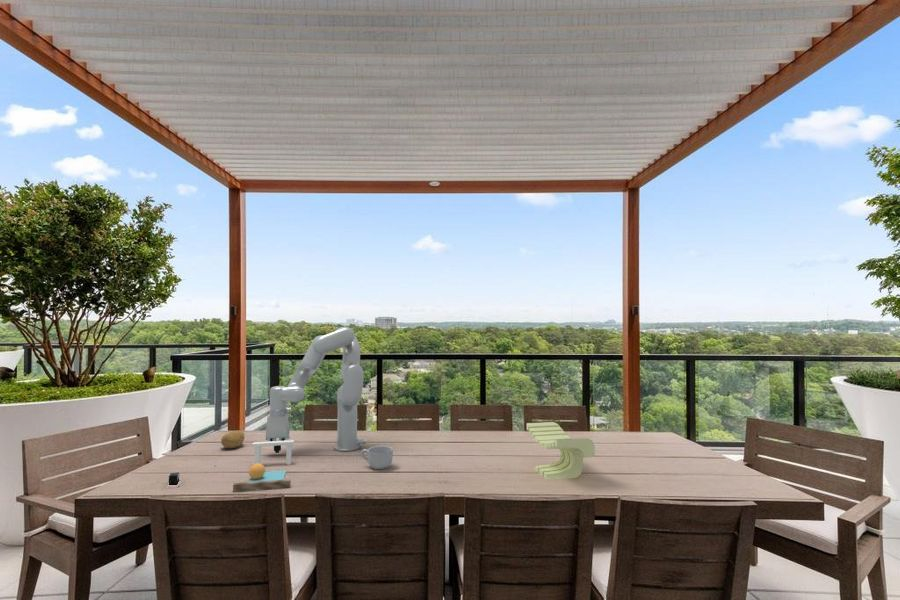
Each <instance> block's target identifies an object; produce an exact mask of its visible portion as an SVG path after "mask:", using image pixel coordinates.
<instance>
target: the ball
mask: <svg viewBox="0 0 900 600" xmlns="http://www.w3.org/2000/svg"><path fill="white" fill-rule="evenodd" d="M265 467H266V466H264V464H262V463H261V464H260V463H256V464H255V463H253V465H251V466H250V468H249V469H248V475H249V477H250V478H253V479H260V478H261V477H262V476H263V475H264V473H265V472H266V468H265Z"/></svg>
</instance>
